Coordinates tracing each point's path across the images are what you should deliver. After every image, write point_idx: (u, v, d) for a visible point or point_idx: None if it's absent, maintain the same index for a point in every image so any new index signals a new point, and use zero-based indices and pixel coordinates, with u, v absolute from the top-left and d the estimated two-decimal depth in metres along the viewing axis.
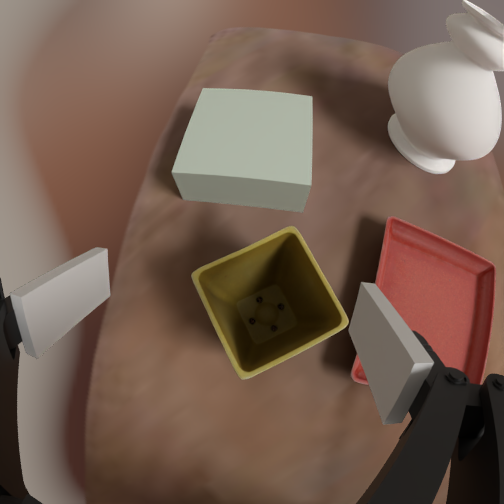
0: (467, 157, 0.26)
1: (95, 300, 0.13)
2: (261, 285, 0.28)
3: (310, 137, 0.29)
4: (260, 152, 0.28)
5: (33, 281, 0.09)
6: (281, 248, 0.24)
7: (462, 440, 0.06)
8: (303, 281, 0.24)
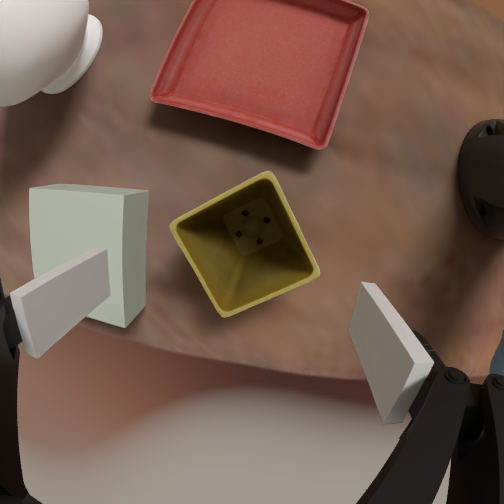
0: (85, 8, 0.17)
1: (95, 300, 0.13)
2: (225, 233, 0.29)
3: (73, 193, 0.24)
4: (94, 245, 0.26)
5: (33, 281, 0.09)
6: (190, 226, 0.24)
7: (462, 440, 0.06)
8: (222, 202, 0.24)
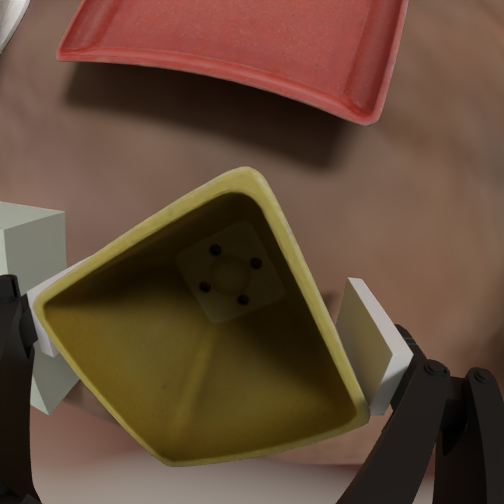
0: None
1: None
2: (179, 288, 0.15)
3: None
4: None
5: (49, 280, 0.09)
6: (93, 294, 0.10)
7: (446, 434, 0.06)
8: (151, 243, 0.10)
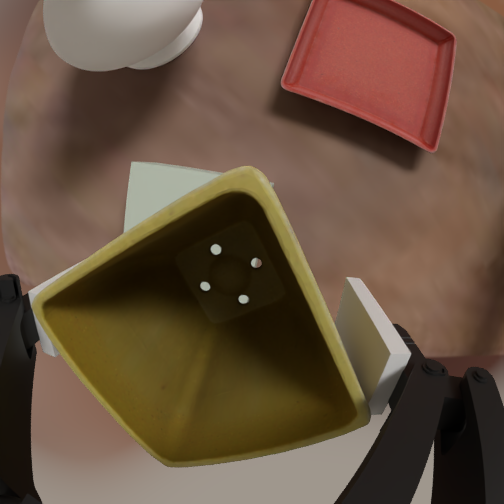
0: None
1: None
2: (179, 288, 0.15)
3: (201, 174, 0.25)
4: None
5: (51, 279, 0.09)
6: (92, 293, 0.10)
7: (444, 434, 0.06)
8: (151, 242, 0.10)
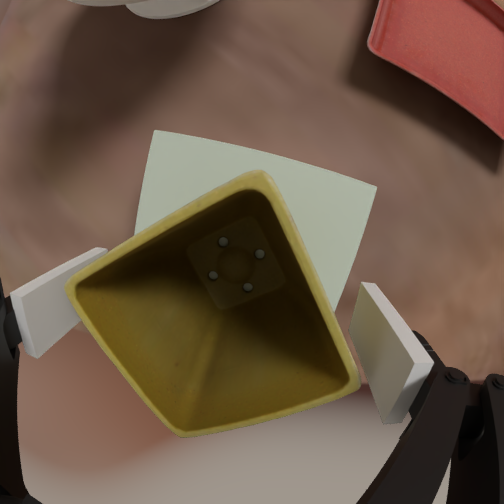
0: None
1: None
2: (189, 276, 0.17)
3: (273, 157, 0.16)
4: None
5: (33, 281, 0.09)
6: (116, 278, 0.12)
7: (462, 440, 0.06)
8: (171, 233, 0.12)
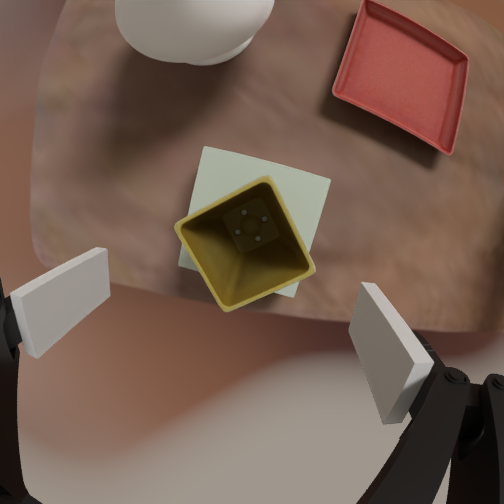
0: None
1: (95, 300, 0.13)
2: (224, 232, 0.30)
3: (272, 164, 0.29)
4: None
5: (33, 281, 0.09)
6: (193, 226, 0.25)
7: (462, 440, 0.06)
8: None
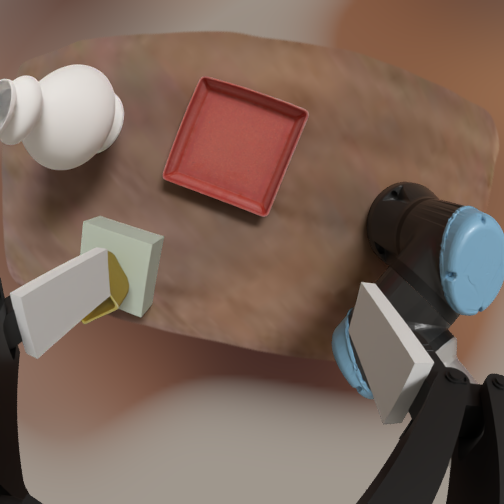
0: (114, 106, 0.36)
1: (96, 300, 0.13)
2: None
3: (118, 234, 0.43)
4: (129, 268, 0.45)
5: (33, 281, 0.09)
6: None
7: (462, 440, 0.06)
8: None
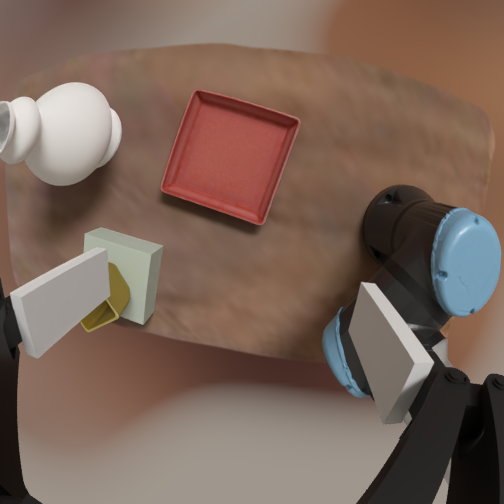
0: (111, 123, 0.38)
1: (95, 300, 0.13)
2: None
3: (118, 245, 0.45)
4: (130, 277, 0.47)
5: (33, 281, 0.09)
6: None
7: (462, 440, 0.06)
8: None
